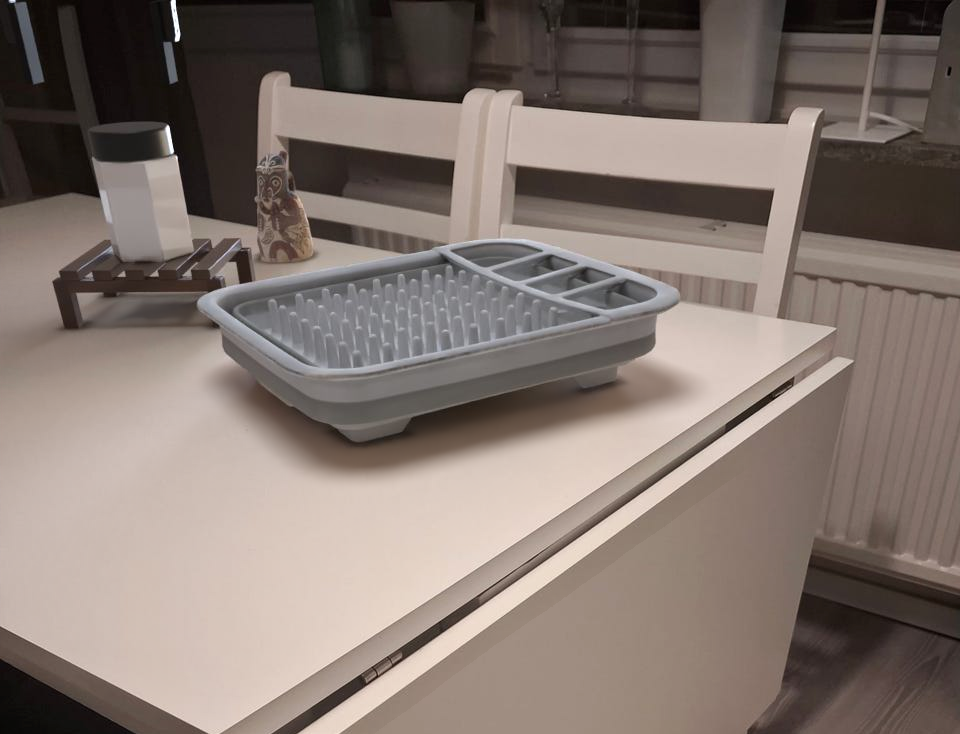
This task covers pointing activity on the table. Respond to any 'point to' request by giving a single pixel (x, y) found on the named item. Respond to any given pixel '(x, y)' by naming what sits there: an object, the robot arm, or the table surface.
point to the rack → (148, 274)
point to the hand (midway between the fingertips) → (102, 83)
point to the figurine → (280, 214)
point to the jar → (141, 191)
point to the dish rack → (436, 329)
